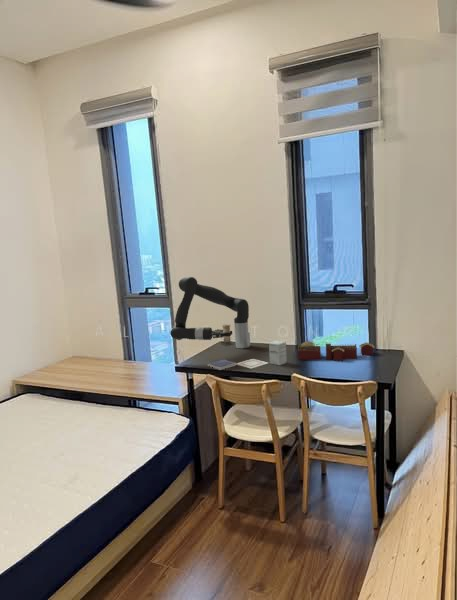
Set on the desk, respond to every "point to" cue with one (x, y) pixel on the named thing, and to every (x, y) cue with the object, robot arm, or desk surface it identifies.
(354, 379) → the desk surface
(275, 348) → the supplement box
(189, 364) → the desk surface
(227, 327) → the stamp
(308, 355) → the toy houses
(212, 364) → the ink pad
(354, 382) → the desk surface
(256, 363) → the card sheet
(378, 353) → the desk surface
